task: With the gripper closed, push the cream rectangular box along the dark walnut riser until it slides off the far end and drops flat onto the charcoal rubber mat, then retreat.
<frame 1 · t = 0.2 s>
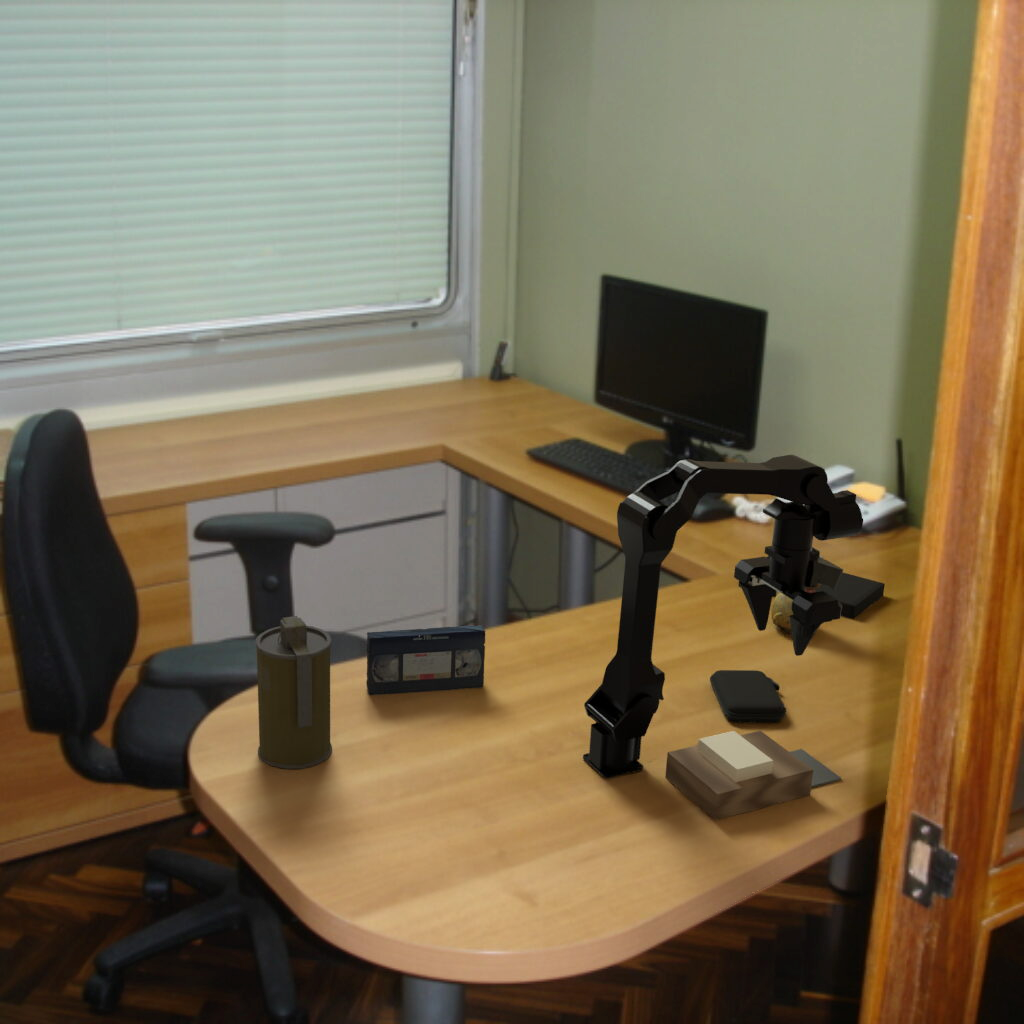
hand: (779, 642, 203), 14 cm above the table, fingers open, 9 cm apart
canister: (295, 752, 195), on the table
carrying case or bag: (749, 705, 216), on the table
riser: (737, 786, 191), on the table
decorative figurine: (792, 630, 243), on the table
external hard drive: (810, 593, 260), on the table
mat: (802, 769, 197), on the table
cream rectangular box: (734, 762, 190), point 4 cm above the table, touching riser
vhs cassette tape: (425, 690, 216), on the table
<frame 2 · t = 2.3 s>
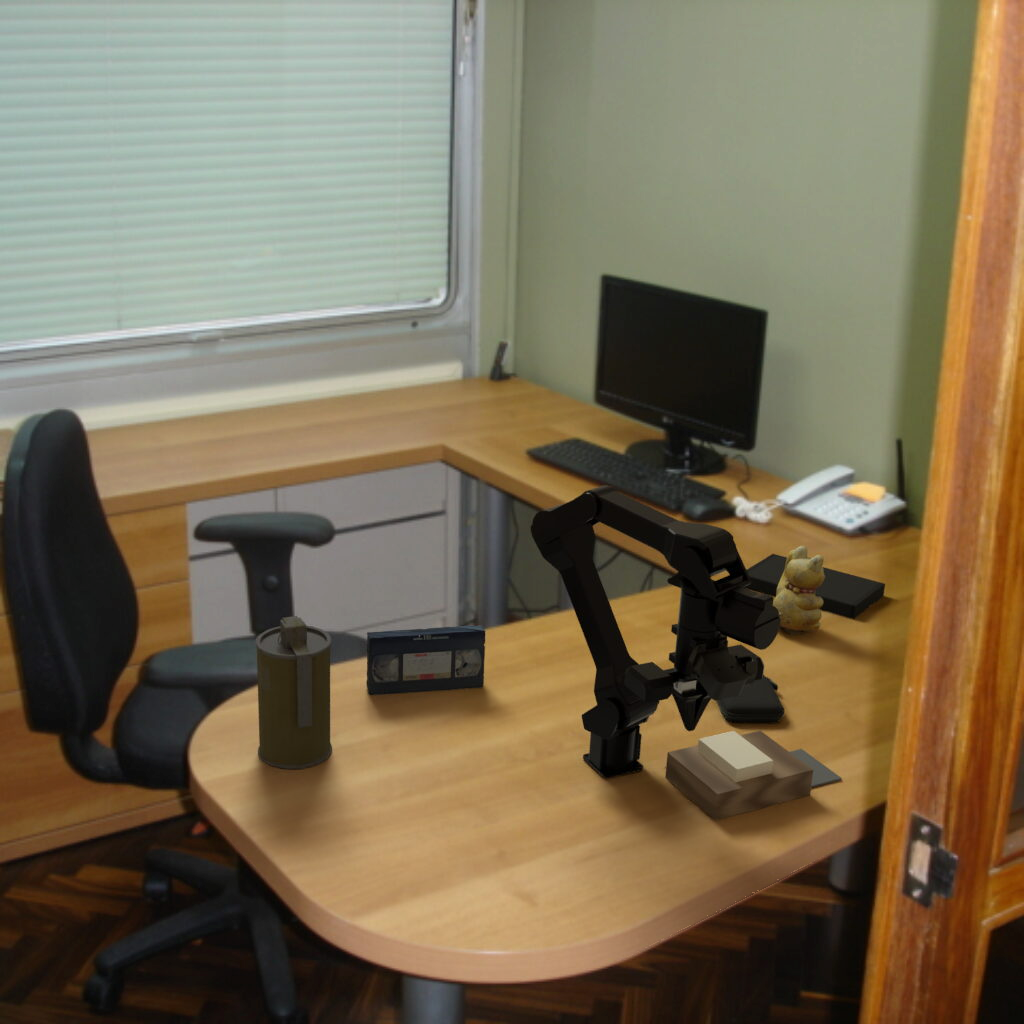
hand: (689, 729, 184), 11 cm above the table, fingers closed
nothing on the table moved.
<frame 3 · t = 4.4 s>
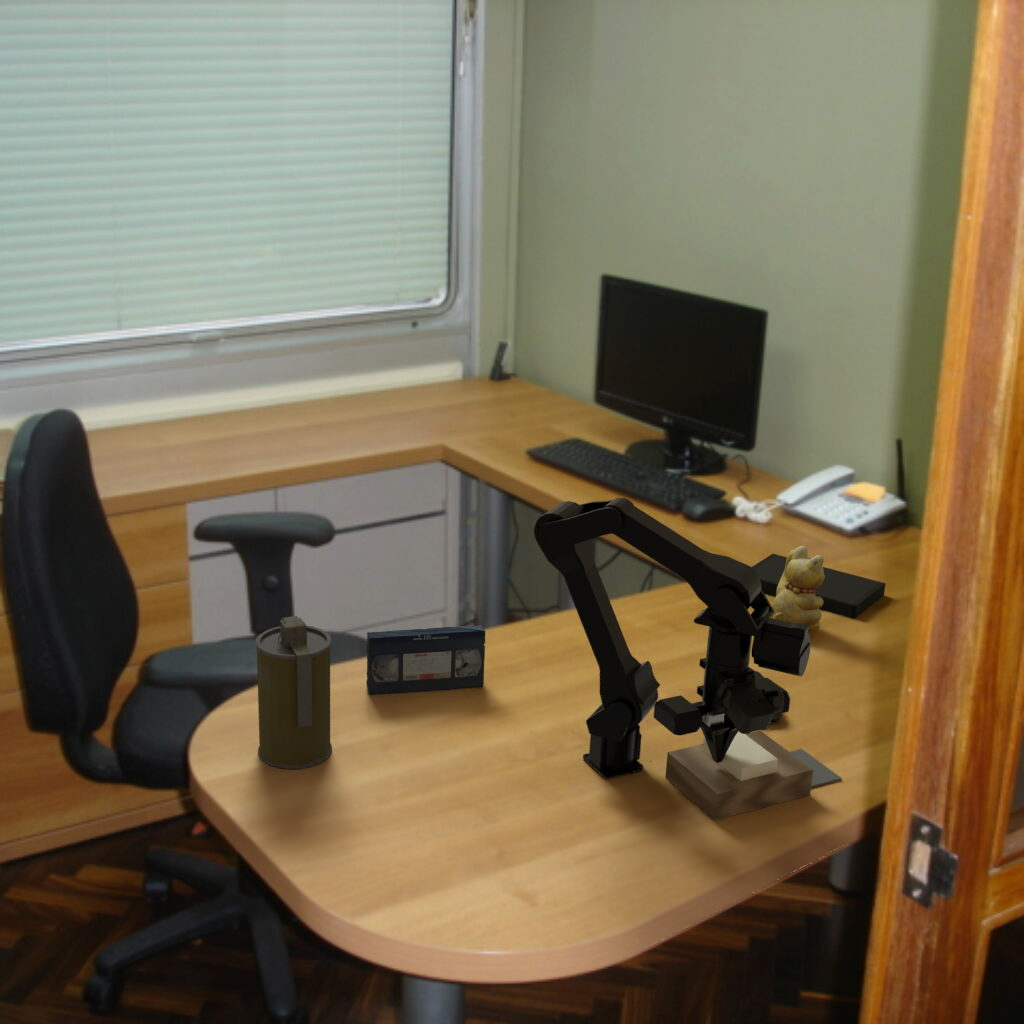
hand: (717, 761, 188), 5 cm above the table, fingers closed
cream rectangular box: (739, 761, 190), point 4 cm above the table, touching gripper
everything else where it was.
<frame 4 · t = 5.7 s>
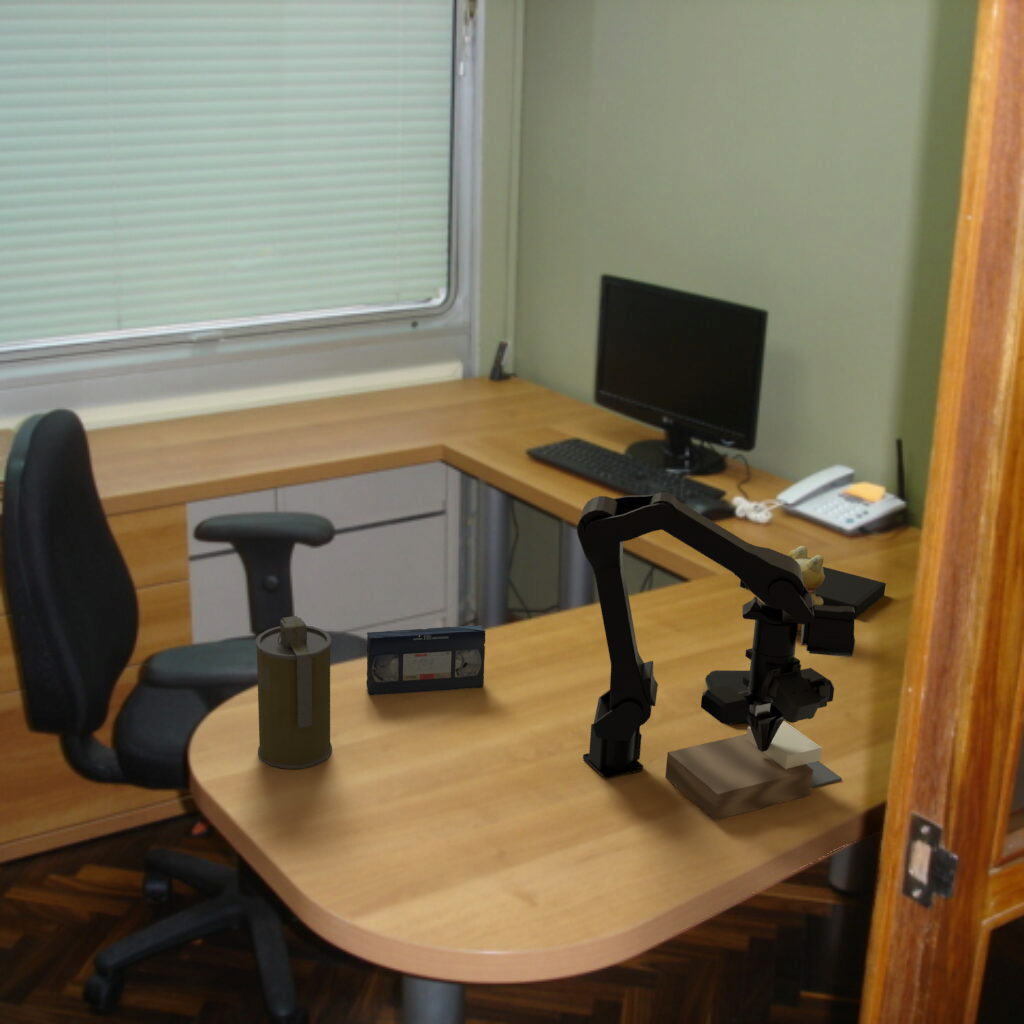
hand: (762, 750, 191), 5 cm above the table, fingers closed
cream rectangular box: (782, 749, 194), point 4 cm above the table
everything else where it was.
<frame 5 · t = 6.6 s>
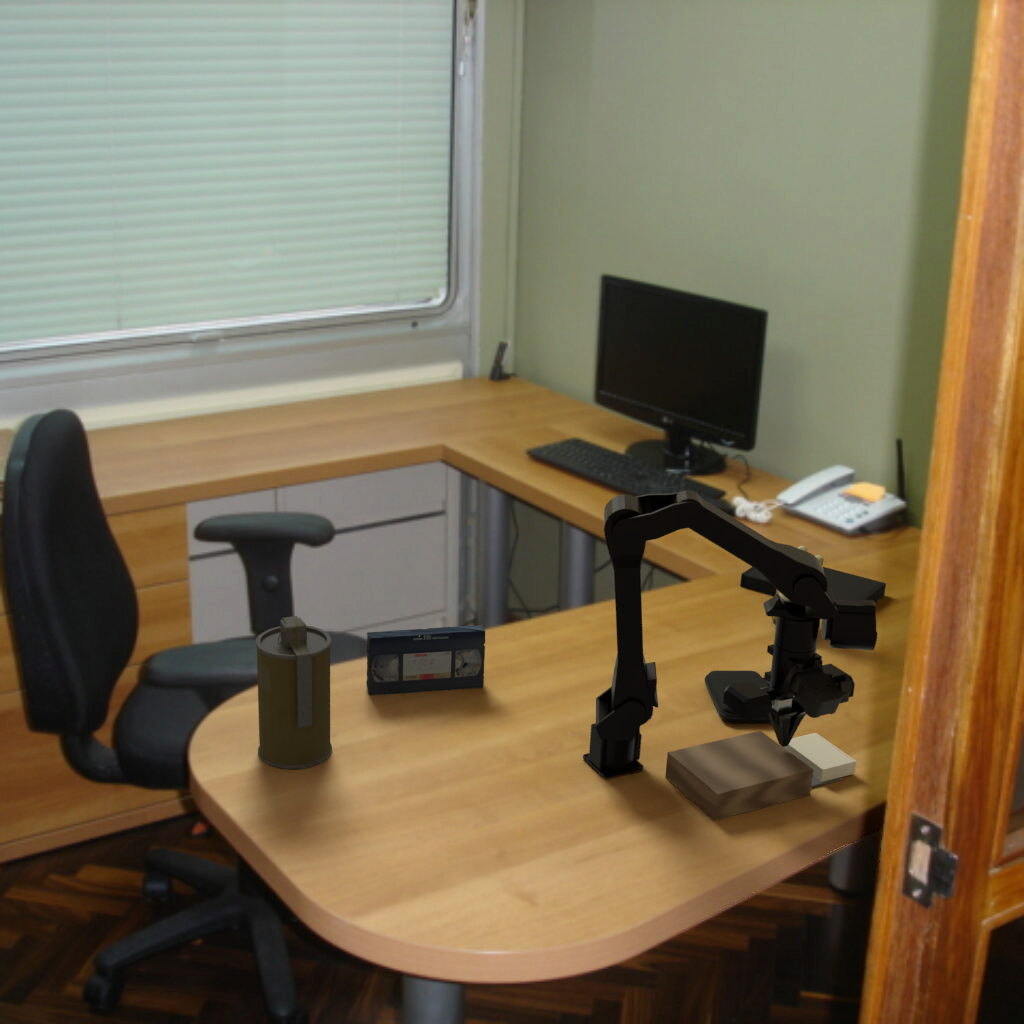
hand: (783, 745, 193), 5 cm above the table, fingers closed
cream rectangular box: (819, 750, 197), point 2 cm above the table, tilted 180°, touching mat
everything else where it was.
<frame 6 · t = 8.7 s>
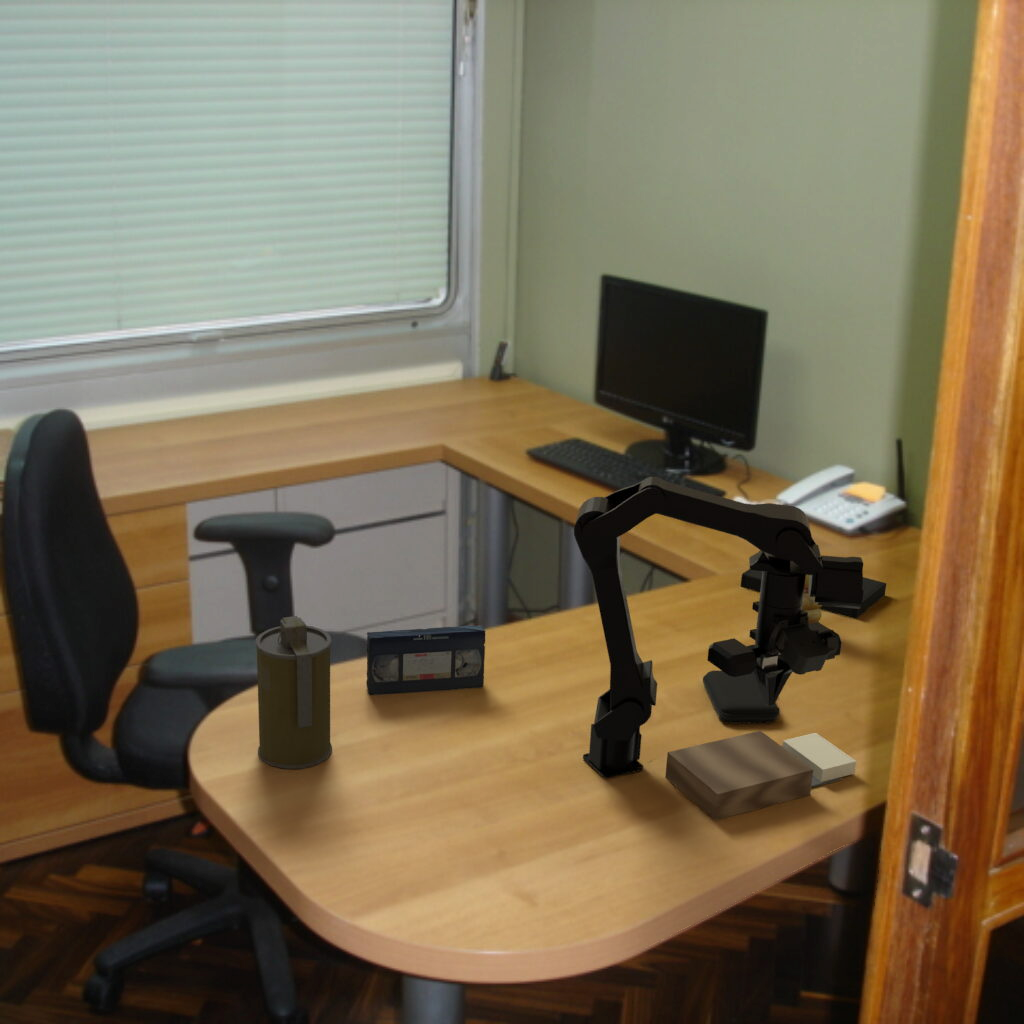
hand: (769, 704, 189), 12 cm above the table, fingers closed
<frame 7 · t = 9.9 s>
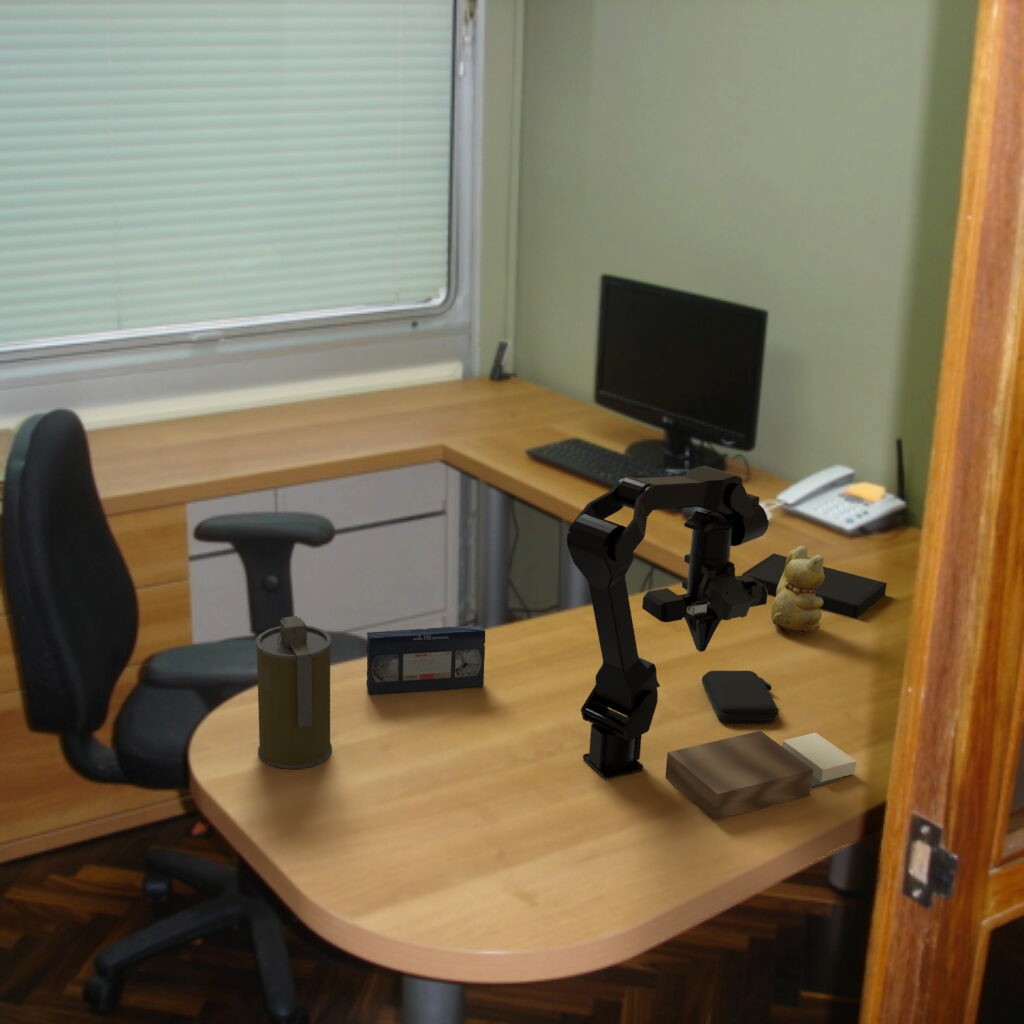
hand: (700, 650, 205), 12 cm above the table, fingers closed
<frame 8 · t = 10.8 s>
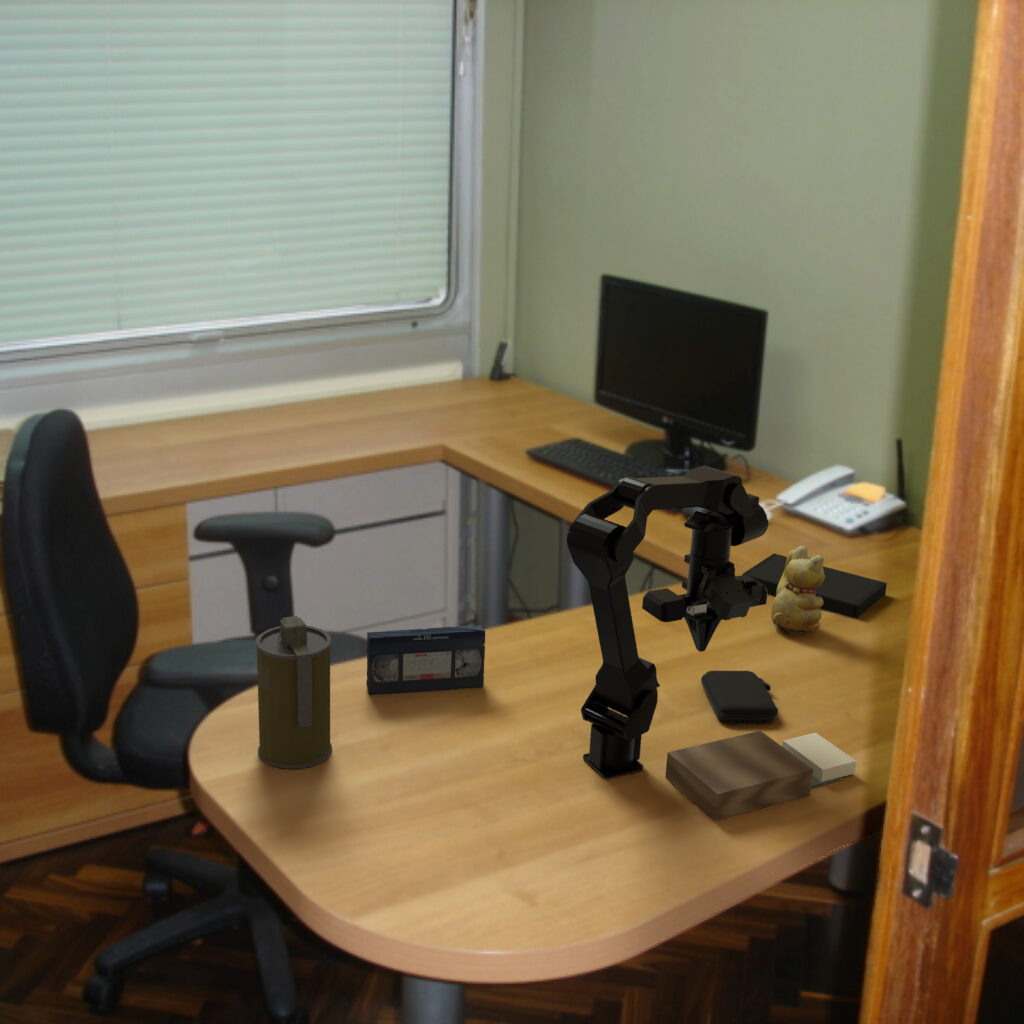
hand: (700, 650, 205), 12 cm above the table, fingers closed
at the end: cream rectangular box point 2.3 cm above the table; cream rectangular box inside the target area on the mat (2.8 cm from its centre), point 2.3 cm above the mat's base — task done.
